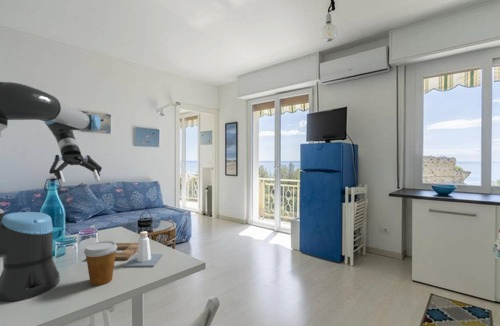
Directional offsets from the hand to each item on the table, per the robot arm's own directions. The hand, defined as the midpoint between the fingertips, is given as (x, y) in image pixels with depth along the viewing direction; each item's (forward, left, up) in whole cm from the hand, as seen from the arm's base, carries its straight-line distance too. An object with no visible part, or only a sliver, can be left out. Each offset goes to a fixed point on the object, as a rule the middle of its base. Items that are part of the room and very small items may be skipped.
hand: (81, 183), depth 112 cm
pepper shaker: (-14, -32, -29) cm, 45 cm away
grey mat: (-14, -32, -30) cm, 46 cm away
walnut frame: (-5, -17, -30) cm, 35 cm away
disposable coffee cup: (-30, -24, -30) cm, 49 cm away
